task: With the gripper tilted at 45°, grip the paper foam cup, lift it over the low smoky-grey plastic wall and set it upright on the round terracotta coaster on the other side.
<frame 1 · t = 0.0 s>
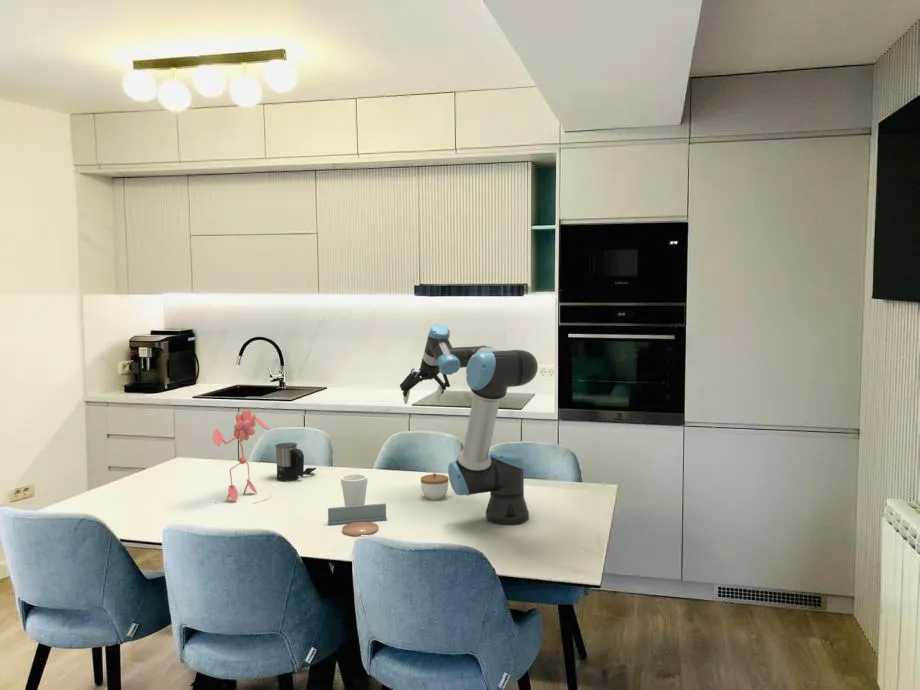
hand: (421, 400, 299), 36 cm above the table, tool tilted 35°, fingers open, 13 cm apart
foam cup: (355, 513, 272), on the table
figurine: (248, 499, 292), on the table
low wall: (357, 521, 263), on the table
lidded jar: (434, 498, 290), on the table
milk frother: (296, 477, 323), on the table
terracotta coaster: (360, 530, 253), on the table
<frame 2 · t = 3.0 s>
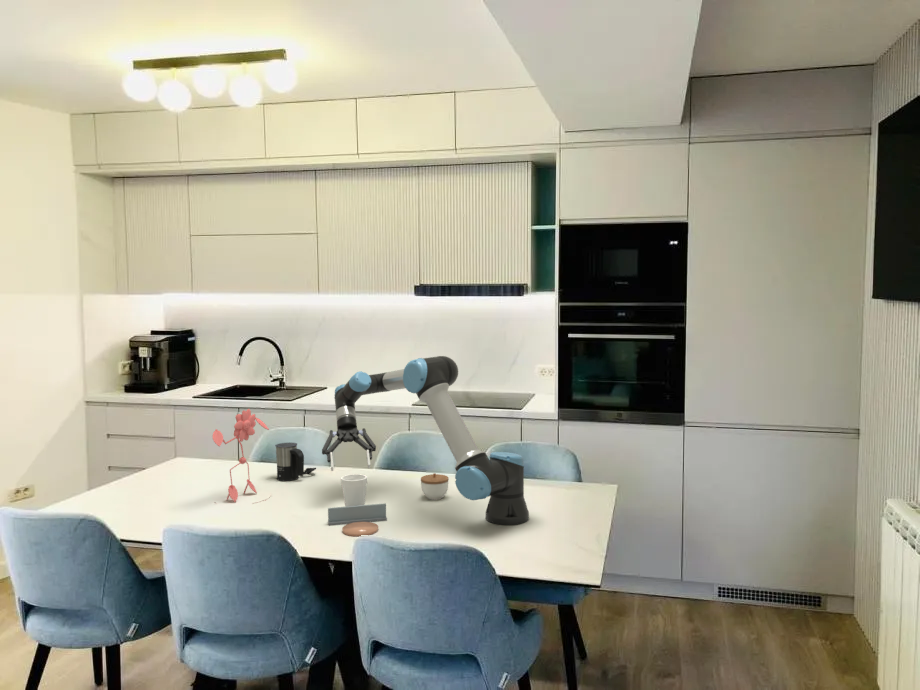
hand: (350, 467, 280), 14 cm above the table, tool tilted 45°, fingers open, 13 cm apart
nothing on the table moved.
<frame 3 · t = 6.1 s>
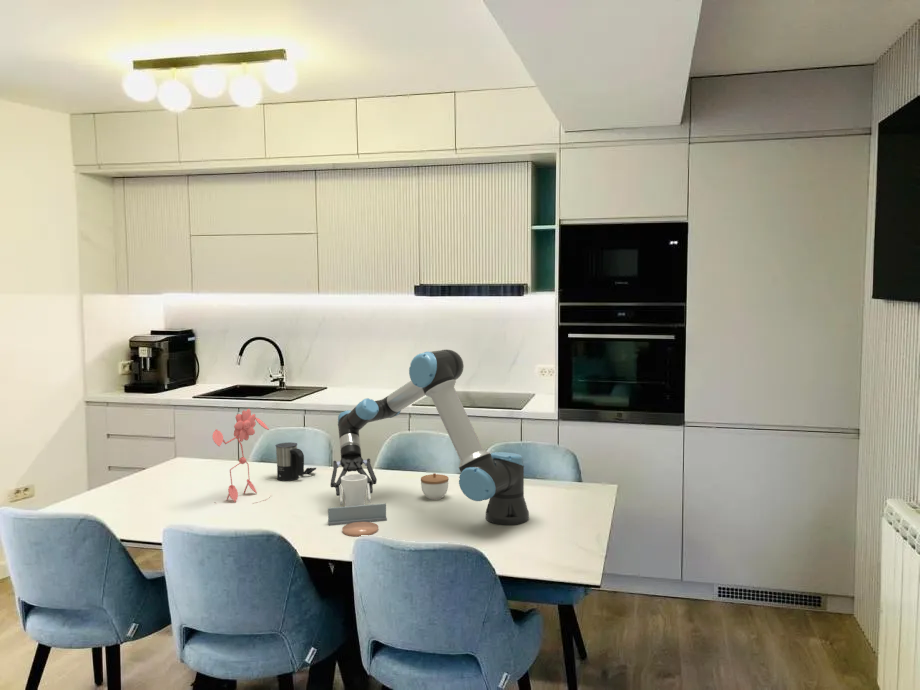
hand: (355, 501, 269), 5 cm above the table, tool tilted 45°, fingers closed on foam cup, 9 cm apart
foam cup: (354, 513, 273), on the table, touching gripper
everything else where it was.
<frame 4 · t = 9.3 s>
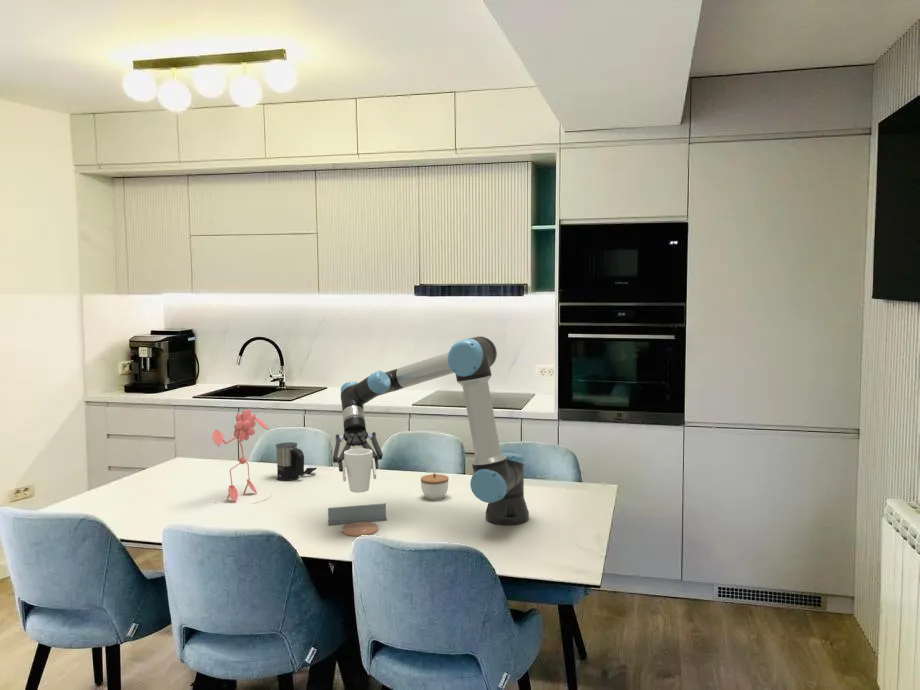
hand: (359, 478, 249), 19 cm above the table, tool tilted 45°, fingers closed on foam cup, 9 cm apart
foam cup: (359, 490, 252), point 14 cm above the table, touching gripper
everything else where it was.
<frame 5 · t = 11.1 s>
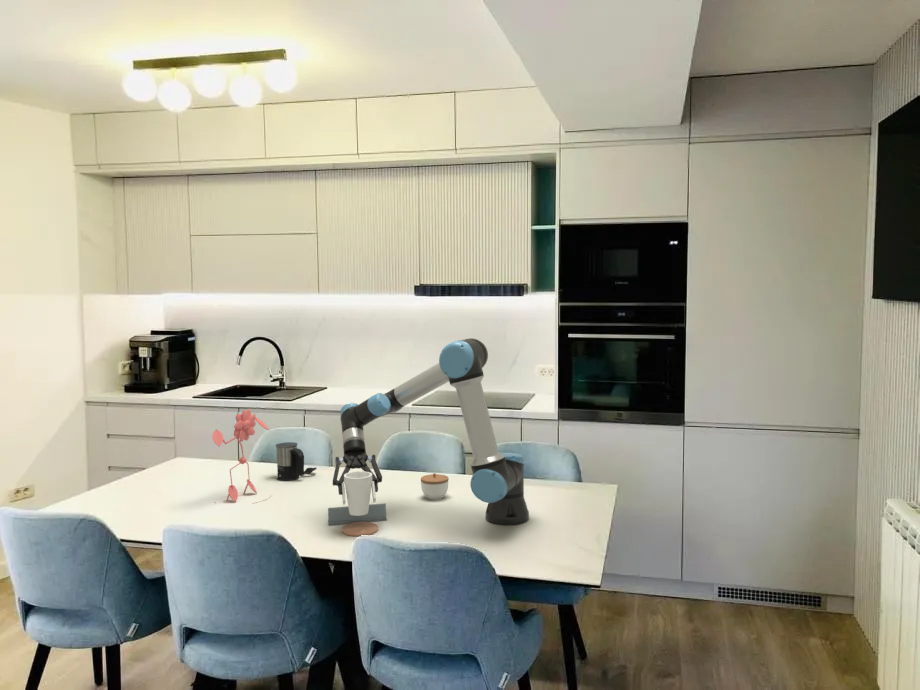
hand: (359, 501, 249), 11 cm above the table, tool tilted 45°, fingers closed on foam cup, 9 cm apart
foam cup: (358, 513, 253), point 6 cm above the table, touching gripper
everything else where it was.
when the fingers open (7 cm above the table, at t = 12.6 s): foam cup drops 1 cm, resting on terracotta coaster.
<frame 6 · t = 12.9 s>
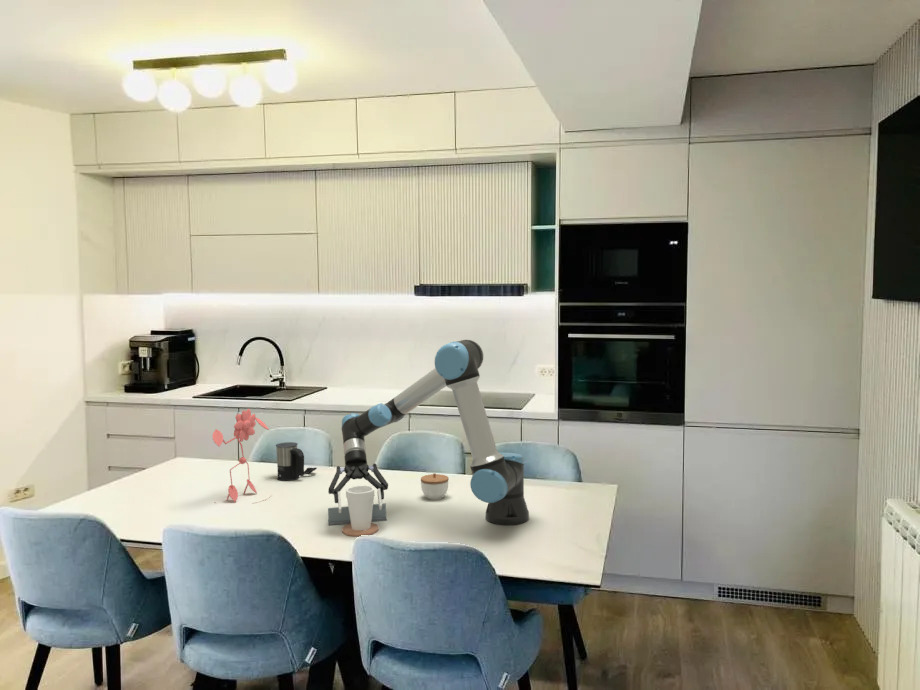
hand: (360, 509, 250), 8 cm above the table, tool tilted 45°, fingers open, 13 cm apart
foam cup: (361, 527, 253), point 1 cm above the table, touching terracotta coaster
everything else where it was.
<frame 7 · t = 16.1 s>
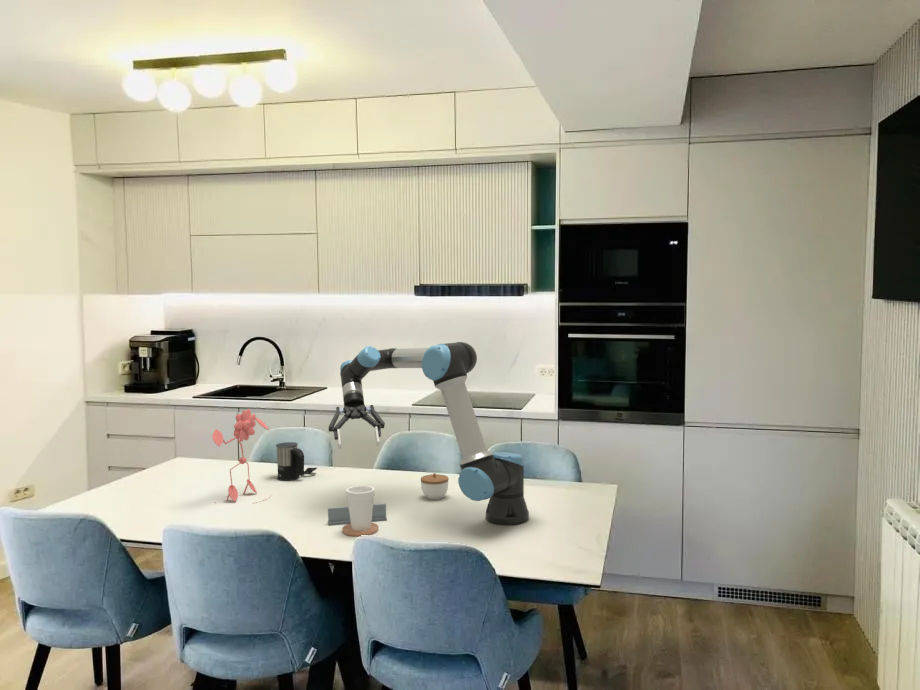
hand: (359, 445, 269), 25 cm above the table, tool tilted 45°, fingers open, 13 cm apart
nothing on the table moved.
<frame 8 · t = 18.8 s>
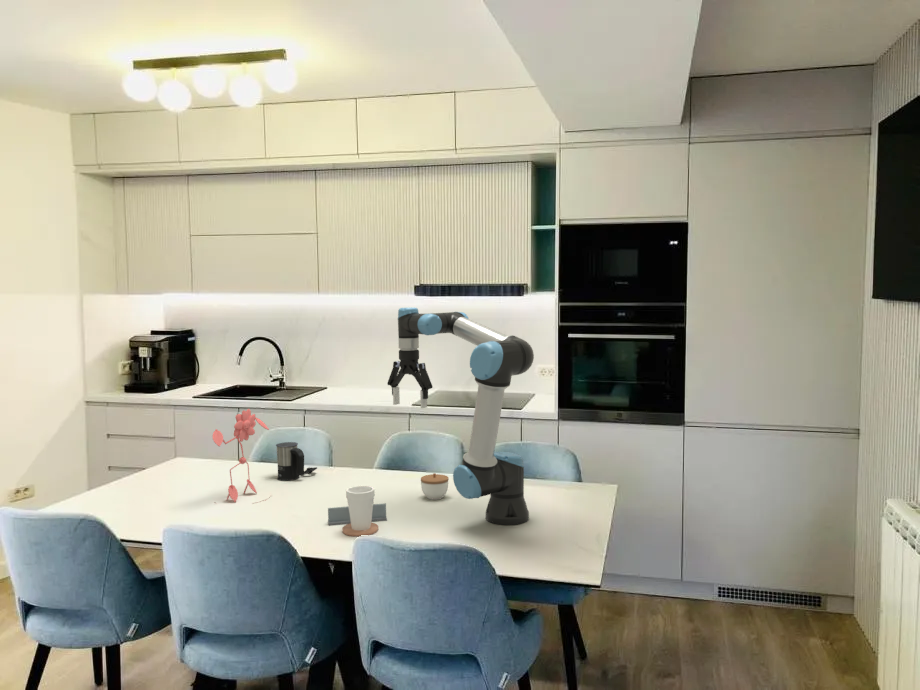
hand: (409, 406, 281), 37 cm above the table, tool pointing down, fingers open, 13 cm apart
nothing on the table moved.
at the end: foam cup inside the target area on the terracotta coaster (0.3 cm from its centre), point 0.8 cm above the terracotta coaster's base; foam cup tilted 0°; the gripper is holding nothing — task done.
